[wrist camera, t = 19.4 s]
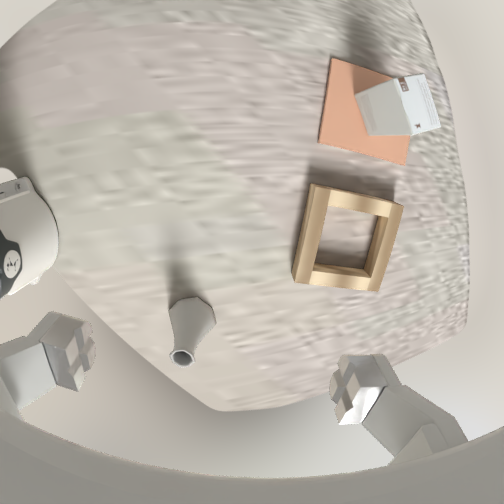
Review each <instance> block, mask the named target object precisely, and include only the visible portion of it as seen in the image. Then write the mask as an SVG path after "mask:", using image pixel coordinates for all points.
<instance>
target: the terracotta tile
mask: <svg viewBox="0 0 504 504" xmlns="http://www.w3.org/2000/svg"><path fill="white" fill-rule="evenodd" d="M390 79H392V78H391V77H388V76H386V75H383V74H380V73H378V72H375V71H372V70H369V69H366V68H363V67H360V66H357V65H354V64H351V63H348V62H344V61H341V60H337V59H334V58H332V59H331V63H330V70H329V77H328V83H327V90H326V97H325V103H324V109H323V115H322V121H321V127H320V133H319V139H318V143H321V144H326V145H330V146H334V147H339V148H343V149H347V150H351V151H355V152H358V153H362V154H366V155H369V156H373V157H377V158H380V159H383V160H387V161H390V162H393V163H397V164H400V165H404V166H405V162H406V156H407V151H408V145H409V139H410V135H380V136H369V135H368V133H367V130H366V127H365V124H364V121H363V118H362V115H361V112H360V109H359V107H358V104H357V101H356V98H355V94H357V93H359V92H361V91H364V90H366V89H368V88H371V87H373V86H376V85H378V84H380V83H383V82H385V81H388V80H390Z"/></svg>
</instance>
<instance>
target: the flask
mask: <svg viewBox="0 0 504 504" xmlns="http://www.w3.org/2000/svg"><path fill="white" fill-rule="evenodd" d="M169 316H170V320H171V324H172V328H173V333H174V349H173V351H172V352H171V353H170V355H169V356H170V358H171V360H172V362H173V363H174V364H176V365H177V366H179V367H190V366H191V365H192V364H193V363H194V362H195V358H194V353H195V350H196V348H197V346H198V344H199V343H200V342H201V340H202V339H203V338H204V337H205V336H206V334H207V333H208V332H209V331H210V330H211V329H212V328H213V327H214V326H215V325H216V320H215V317H214V313H213V310H212V308H211V307H210V306H209V305H207V304H206V303H205V302H203V301H202V300H201V299H199V298H198V297H193V298H186V299H180V300H178V301H177V302H176V303H175V304H174V306H173V307H172V308H171V309H170V310H169Z"/></svg>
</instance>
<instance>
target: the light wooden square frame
mask: <svg viewBox="0 0 504 504" xmlns="http://www.w3.org/2000/svg"><path fill="white" fill-rule="evenodd" d="M328 205H329V206H334V207H340V208H345V209H350V210H355V211H360V212H365V213H369V214H374V215H379V216H378V220H377V224H376V228H375V231H374V235H373V239H372V242H371V246H370V249H369V253H368V256H367V260H366V263H365V266H364V269H357V268H349V267H341V266H334V265H326V264H319V263H314V262H315V258H316V254H317V250H318V246H319V241H320V237H321V233H322V229H323V224H324V220H325V215H326V211H327V206H328ZM403 208H404V206H402V205H400V204H398V203H396V202H394V201H390V200H386V199H381V198H377V197H373V196H369V195H364V194H360V193H356V192H351V191H346V190H342V189H337V188H332V187H327V186H322V185H317V184H312V183H310V187H309V192H308V198H307V203H306V208H305V212H304V217H303V222H302V227H301V232H300V236H299V241H298V246H297V250H296V255H295V259H294V264H293V268H292V272H291V273H292V276H293V279H294V282H295V283H303V284H311V285H320V286H329V287H338V288H348V289H357V290H367V291H377V292H378V291H379V288H380V285H381V282H382V279H383V276H384V273H385V270H386V267H387V264H388V261H389V258H390V255H391V251H392V248H393V245H394V241H395V238H396V234H397V231H398V227H399V223H400V220H401V216H402V212H403Z"/></svg>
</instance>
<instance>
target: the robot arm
mask: <svg viewBox="0 0 504 504" xmlns="http://www.w3.org/2000/svg"><path fill="white" fill-rule="evenodd" d="M58 246H59V239H58V231H57V226H56V223H55V220H54V217H53V215H52V213H51V211H50V209H49V207H48V206H47V204H46V203H45V202H44V201H43V200H42V199H41V198H40V197H39V196H38V194H37V193H36V192H35V190H34V188H33V185H32V183H31V181H30V180H29V178H28V177H22V178H19V179H15V180H12V181H9V182H5V183H2V184H0V300H1V299H2V298H3V297H4V296H5V295H6V294H8V295H11V294H13V293H15V292H16V291H18V290H19V289H21V288H22V287H24V286H25V285H27V284H28V283H29V284H31V285H35V284H36V283H38V282H39V280H40V278H41V275H42V273H43V272H45V271H46V270H48V269H49V268H50V267H51V266H52V265H53V263H54V261H55V259H56V257H57V253H58ZM91 333H92V327H91V323H90V322H88V321H85V320H82V319H79V318H75V317H72V316H68V315H65V314H61V313H57V312H54V311H51V312H49V313H48V314H47V315H46V316H45V317H44V318H43V319H42V320H41V321H40V322H39V324H38V325H37V326H36V327H35V328H34V329H33V330H32V331H31V333H30V334H29V335H28V336H27V337H25V336H22V337H19V338H16V339H14V340H11V341H8V342H6V343H3V344H0V504H504V426H503V427H501V428H499V429H497V430H495V431H493V432H490V433H488V434H486V435H484V436H481V437H479V438H476V439H474V440H471V441H469V442H468V440H467V438H466V436H465V435H464V433H463V431H462V429H461V427H460V426H459V424H458V422H457V421H456V419H455V417H454V416H452V415H451V414H449V413H447V412H446V411H444V410H443V409H441V408H440V407H438V406H436V405H435V404H434V403H432V402H430V401H429V400H427V399H426V398H424V397H423V396H421V395H420V394H418V393H417V392H415V391H414V390H412V389H411V388H409V387H408V386H406V385H401V383H400V381H399V379H398V377H397V375H396V374H395V372H394V370H393V368H392V367H391V365H390V363H389V361H388V360H387V358H386V356H385V355H383V354H370V355H342V356H341V357H340V359H339V361H338V366H339V369H338V370H337V371H336V372H334V373H333V375H332V378H331V380H330V387H329V390H330V396H331V400H333V401H334V402H335V403H336V404H337V406H336V407H335V409H334V410H335V413H336V416H337V420H338V423H339V424H357V423H362V425H363V426H364V427H365V428H366V429H367V430H368V431H369V432H370V433H371V434H372V435H373V436H374V437H375V438H376V439H377V440H378V441H379V442H380V443H381V444H382V445H383V446H384V447H385V448H386V449H387V450H388V451H389V452H390V453H391V454H392V455H393V456H394V459H393V460H392V461H391V462H390V463H389V464H388V465H387V466H384V467H379V468H374V469H368V470H362V471H356V472H349V473H341V474H332V475H322V476H310V477H290V478H254V477H253V478H252V477H233V476H220V475H209V474H201V473H193V472H186V471H179V470H174V469H167V468H162V467H157V466H153V465H148V464H143V463H139V462H134V461H131V460H127V459H123V458H119V457H116V456H112V455H109V454H106V453H102V452H99V451H96V450H93V449H90V448H87V447H84V446H81V445H79V444H76V443H73V442H71V441H68V440H65V439H63V438H60V437H58V436H55V435H53V434H51V433H48V432H46V431H44V430H42V429H39V428H37V427H35V426H33V425H31V424H29V423H27V422H26V421H25V420H24V418H23V417H22V415H21V413H20V410H21V409H23V408H24V407H26V406H27V405H29V404H30V403H32V402H33V401H35V400H36V399H38V398H40V397H41V396H42V395H44V394H46V393H47V392H49V391H50V390H52V389H53V388H55V387H56V386H57V385H59V386H62V387H65V388H68V389H71V390H74V391H79V389H80V387H81V385H82V384H83V382H84V380H85V374H84V372H85V371H87V370H89V369H91V367H92V365H93V363H94V359H95V343H94V341H93V340H92V339H91V338H90V335H91Z"/></svg>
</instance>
